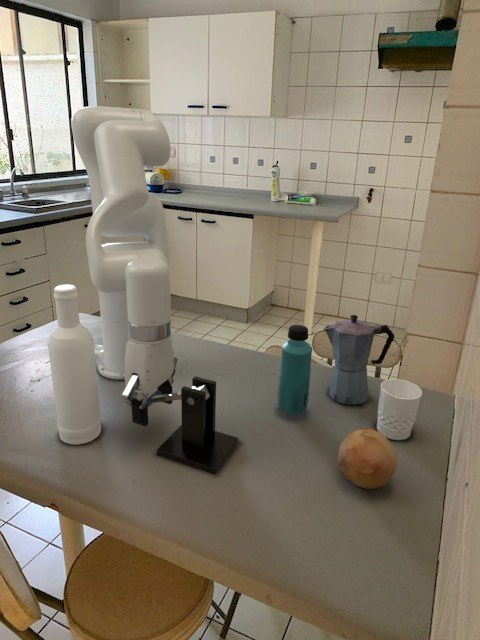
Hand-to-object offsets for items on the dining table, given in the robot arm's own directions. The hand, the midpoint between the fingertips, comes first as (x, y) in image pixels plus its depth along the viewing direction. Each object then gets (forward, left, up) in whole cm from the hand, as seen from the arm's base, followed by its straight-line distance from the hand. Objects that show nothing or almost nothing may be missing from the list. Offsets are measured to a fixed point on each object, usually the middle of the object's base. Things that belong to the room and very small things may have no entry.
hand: (153, 411), depth 89 cm
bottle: (-13, -6, -5) cm, 15 cm away
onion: (+40, +5, -5) cm, 41 cm away
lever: (+6, 0, +4) cm, 7 cm away
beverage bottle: (+22, +20, -5) cm, 30 cm away
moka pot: (+32, +33, -5) cm, 46 cm away
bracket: (+10, 0, -5) cm, 11 cm away
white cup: (+43, +23, -5) cm, 49 cm away
